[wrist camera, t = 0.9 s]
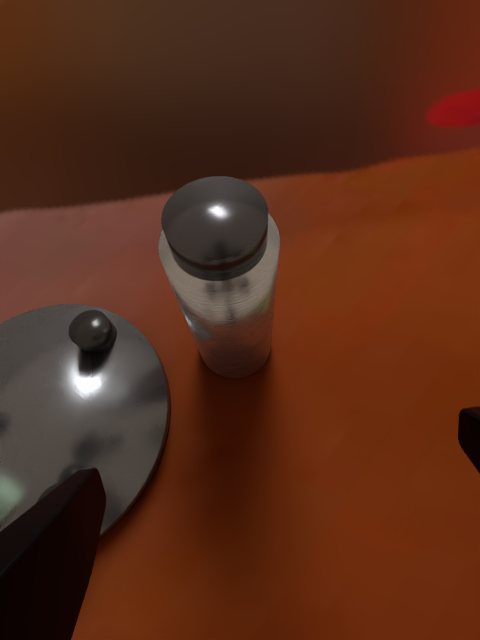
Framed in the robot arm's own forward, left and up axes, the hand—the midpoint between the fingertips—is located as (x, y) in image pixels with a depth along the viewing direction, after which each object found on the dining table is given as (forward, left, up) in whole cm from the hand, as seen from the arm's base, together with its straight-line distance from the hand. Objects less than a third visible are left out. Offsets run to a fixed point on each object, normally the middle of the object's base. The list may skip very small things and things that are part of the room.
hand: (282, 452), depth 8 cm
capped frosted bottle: (+7, +6, -13) cm, 16 cm away
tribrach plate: (-3, +14, -13) cm, 20 cm away
